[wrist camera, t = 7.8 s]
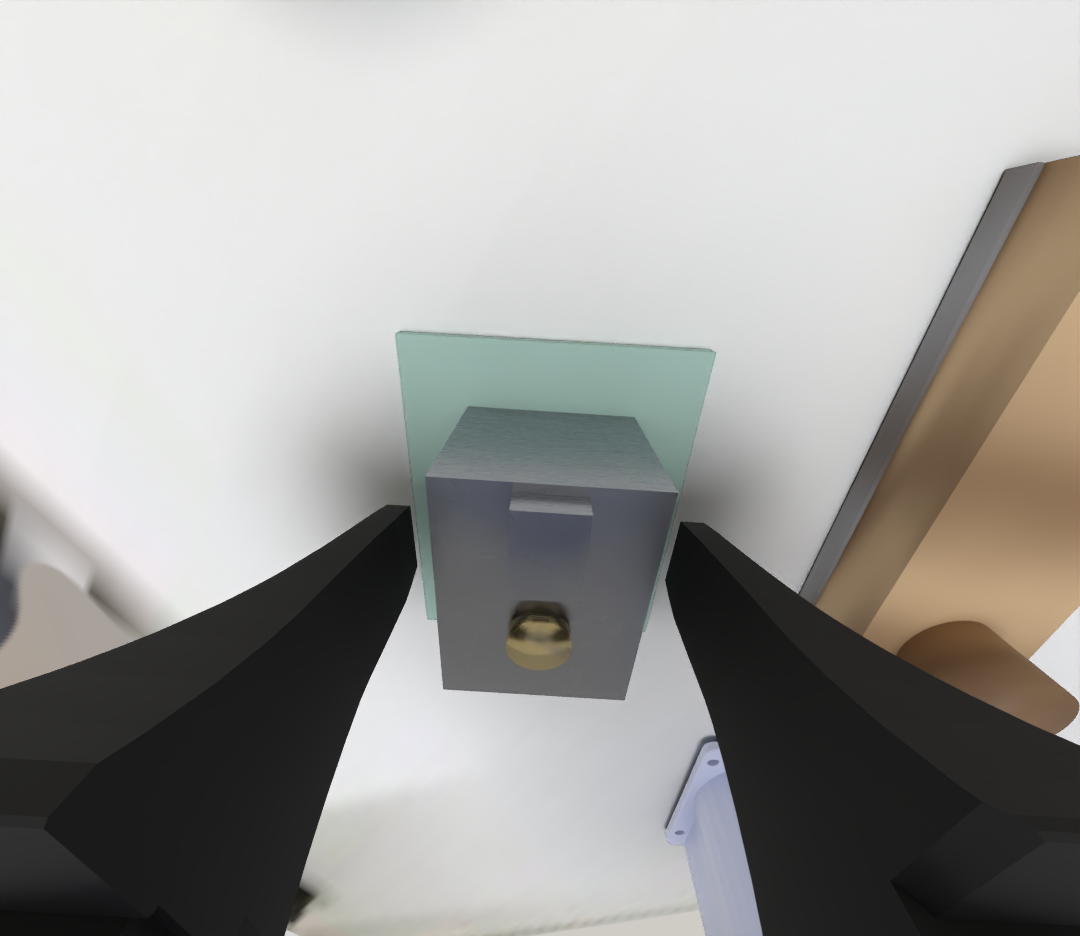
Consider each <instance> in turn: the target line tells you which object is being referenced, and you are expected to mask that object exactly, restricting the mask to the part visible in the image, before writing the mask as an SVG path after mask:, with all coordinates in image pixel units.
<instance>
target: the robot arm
mask: <svg viewBox="0 0 1080 936" xmlns="http://www.w3.org/2000/svg"><path fill="white" fill-rule="evenodd" d="M416 569H417V559H416V551H415V542H414V534H413V526H412V517H411V509H410V506H401V505H386V506H384V507H383V508H381V509H379V510H378V511H376V512H375V513H373V514H372V515H370V516H368V517H367V518H365V519H364V520H363V521H361V522H360V523H358V524H357V525H355V526H354V527H352V528H351V529H349V530H348V531H346V532H345V533H343V534H341V535H340V536H338V537H337V538H335V539H334V540H332V541H331V542H329V543H328V544H326V545H325V546H323V547H322V548H320V549H318V550H317V551H315V552H313V553H312V554H310V555H308V556H307V557H305V558H303V559H302V560H300V561H298V562H297V563H295V564H293V565H292V566H290V567H289V568H287V569H285V570H284V571H282V572H280V573H278V574H277V575H275V576H273V577H271V578H269V579H268V580H266V581H264V582H262V583H260V584H258V585H256V586H254V587H252V588H250V589H249V590H247V591H245V592H243V593H241V594H239V595H237V596H235V597H233V598H231V599H229V600H227V601H225V602H223V603H221V604H218V605H216V606H214V607H212V608H209V609H207V610H205V611H203V612H201V613H198V614H196V615H194V616H192V617H189V618H187V619H185V620H183V621H180V622H178V623H176V624H174V625H171V626H169V627H167V628H165V629H162V630H160V631H158V632H155V633H153V634H150V635H148V636H145V637H143V638H140V639H138V640H135V641H133V642H130V643H128V644H126V645H123V646H120V647H118V648H115V649H112V650H110V651H108V652H105V653H102V654H99V655H97V656H94V657H91V658H89V659H86V660H83V661H81V662H78V663H75V664H73V665H69V666H67V667H64V668H61V669H58V670H56V671H53V672H50V673H47V674H44V675H41V676H38V677H35V678H32V679H29V680H26V681H23V682H20V683H17V684H14V685H11V686H8V687H5V688H2V689H0V936H284V935H285V932H286V928H287V925H288V921H289V918H290V915H291V911H292V908H293V904H294V901H295V898H296V894H297V891H298V887H299V884H300V881H301V877H302V874H303V871H304V867H305V864H306V860H307V857H308V854H309V851H310V848H311V844H312V841H313V838H314V835H315V832H316V829H317V826H318V822H319V819H320V816H321V813H322V810H323V807H324V803H325V800H326V797H327V794H328V791H329V788H330V785H331V782H332V779H333V776H334V774H335V771H336V768H337V765H338V762H339V759H340V756H341V753H342V750H343V747H344V744H345V741H346V739H347V736H348V733H349V730H350V728H351V725H352V722H353V719H354V717H355V714H356V711H357V708H358V705H359V703H360V700H361V698H362V695H363V693H364V691H365V688H366V686H367V684H368V681H369V679H370V677H371V675H372V673H373V671H374V668H375V666H376V664H377V662H378V660H379V658H380V656H381V654H382V652H383V649H384V647H385V645H386V643H387V641H388V639H389V637H390V635H391V632H392V630H393V628H394V626H395V624H396V622H397V620H398V617H399V615H400V613H401V611H402V609H403V607H404V604H405V602H406V600H407V597H408V594H409V591H410V588H411V585H412V582H413V578H414V575H415V572H416ZM665 582H666V587H667V591H668V596H669V600H670V604H671V608H672V612H673V616H674V619H675V622H676V625H677V627H678V630H679V633H680V635H681V638H682V641H683V644H684V646H685V649H686V651H687V654H688V657H689V659H690V662H691V665H692V667H693V670H694V673H695V675H696V678H697V680H698V683H699V686H700V688H701V691H702V694H703V696H704V699H705V702H706V705H707V708H708V711H709V714H710V717H711V720H712V723H713V727H714V731H715V734H716V738H717V742H716V741H714V742H708V743H706V744H705V745H704V746H703V747H702V749H701V752H700V754H699V756H698V758H697V761H696V763H695V765H694V768H693V770H692V772H691V774H690V777H689V779H688V781H687V783H686V786H685V788H684V790H683V793H682V795H681V797H680V799H679V802H678V804H677V806H676V809H675V811H674V813H673V815H672V818H671V820H670V822H669V825H668V827H667V829H666V831H665V836H666V841H667V842H668V843H669V844H673V845H685V850H686V854H687V858H688V862H689V867H690V871H691V875H692V880H693V884H694V888H695V892H696V897H697V901H698V905H699V910H700V914H701V918H702V922H703V927H704V931H705V935H706V936H1080V746H1079V745H1077V744H1075V743H1073V742H1070V741H1068V740H1066V739H1063V738H1061V737H1059V736H1057V735H1054V734H1052V733H1050V732H1047V731H1045V730H1043V729H1041V728H1038V727H1036V726H1034V725H1032V724H1030V723H1027V722H1025V721H1023V720H1021V719H1019V718H1017V717H1015V716H1013V715H1011V714H1009V713H1007V712H1004V711H1002V710H1000V709H998V708H996V707H994V706H992V705H990V704H988V703H986V702H984V701H982V700H980V699H978V698H975V697H973V696H971V695H969V694H967V693H965V692H963V691H961V690H959V689H957V688H956V687H954V686H952V685H950V684H948V683H946V682H944V681H942V680H940V679H938V678H936V677H934V676H932V675H930V674H929V673H927V672H925V671H923V670H921V669H919V668H918V667H916V666H914V665H912V664H910V663H908V662H907V661H905V660H903V659H901V658H899V657H897V656H896V655H894V654H892V653H890V652H888V651H887V650H885V649H883V648H881V647H880V646H878V645H876V644H875V643H873V642H871V641H869V640H868V639H866V638H864V637H863V636H861V635H860V634H858V633H856V632H855V631H853V630H852V629H850V628H848V627H847V626H845V625H843V624H842V623H840V622H839V621H837V620H835V619H834V618H832V617H831V616H829V615H828V614H826V613H825V612H823V611H822V610H820V609H819V608H817V607H816V606H814V605H813V604H811V603H810V602H808V601H807V600H806V599H804V598H803V597H801V596H800V595H798V594H797V593H796V592H794V591H793V590H791V589H790V588H788V587H787V586H786V585H784V584H783V583H782V582H780V581H779V580H778V579H776V578H775V577H774V576H772V575H771V574H770V573H768V572H767V571H766V570H764V569H763V568H762V567H760V566H759V565H758V564H757V563H755V562H754V561H753V560H751V559H750V558H749V557H748V556H746V555H745V554H744V553H743V552H741V551H740V550H739V549H737V548H736V547H735V546H734V545H732V544H731V543H730V542H729V541H727V540H726V539H725V538H723V537H722V536H721V535H720V534H718V533H717V532H716V531H714V530H713V529H712V528H710V527H709V526H707V525H706V524H704V523H694V522H680V526H679V530H678V534H677V538H676V541H675V545H674V549H673V553H672V556H671V560H670V564H669V568H668V571H667V575H666V579H665Z"/></svg>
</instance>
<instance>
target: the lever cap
mask: <svg viewBox="0 0 1080 936" xmlns="http://www.w3.org/2000/svg"><path fill="white" fill-rule="evenodd" d="M425 482H426V494H427V505H428V517H429V529H430V540H431V552H432V563H433V575H434V587H435V598H436V610H437V622H438V633H439V645H440V656H441V668H442V680H443V689H448V690H464V691H481V692H497V693H513V694H530V695H546V696H562V697H579V698H595V699H611V700H625V696H626V692H627V688H628V684H629V680H630V677H631V673H632V669H633V665H634V661H635V657H636V654H637V650H638V646H639V642H640V638H641V634H642V631H643V627H644V623H645V619H646V615H647V611H648V608H649V604H650V600H651V596H652V592H653V588H654V585H655V581H656V577H657V573H658V569H659V565H660V561H661V558H662V554H663V550H664V546H665V542H666V538H667V535H668V531H669V527H670V523H671V519H672V515H673V512H674V508H675V504H676V500H677V496H678V491H677V490H676V488H675V486H674V484H673V483H672V481H671V479H670V477H669V476H668V474H667V472H666V471H665V469H664V467H663V465H662V464H661V462H660V460H659V458H658V457H657V455H656V453H655V452H654V450H653V448H652V446H651V445H650V443H649V441H648V439H647V438H646V436H645V434H644V433H643V431H642V429H641V427H640V426H639V424H638V422H637V420H636V419H635V417H627V416H611V415H596V414H581V413H566V412H550V411H535V410H520V409H505V408H489V407H474V406H468V407H467V409H466V410H465V412H464V414H463V415H462V417H461V418H460V420H459V422H458V423H457V425H456V427H455V428H454V430H453V432H452V433H451V435H450V436H449V438H448V440H447V441H446V443H445V445H444V446H443V448H442V450H441V451H440V453H439V454H438V456H437V458H436V459H435V461H434V463H433V464H432V466H431V467H430V469H429V471H428V472H427V474H426V476H425Z"/></svg>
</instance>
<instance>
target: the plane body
mask: <svg viewBox="0 0 1080 936" xmlns="http://www.w3.org/2000/svg"><path fill="white" fill-rule="evenodd" d="M799 595H800V596H801V597H803V598H804V599H806V600H807V601H808V602H810V603H811V604H813V605H814V606H816V607H817V608H819V609H820V610H822V611H823V612H825V613H826V614H828V615H829V616H831V617H832V618H834V619H835V620H837V621H839V622H840V623H842V624H843V625H845V626H847V627H848V628H850V629H852V630H853V631H855V632H856V633H858V634H860V635H861V636H863V637H864V638H866V639H868V640H869V641H871V642H873V643H875V644H876V645H878V646H880V647H881V648H883V649H885V650H887V651H888V652H890V653H892V654H894V655H896V656H897V657H899V658H901V659H903V660H905V661H907V662H908V663H910V664H912V665H914V666H916V667H918V668H919V669H921V670H923V671H925V672H927V673H929V674H930V675H932V676H934V677H936V678H938V679H940V680H942V681H944V682H946V683H948V684H950V685H952V686H954V687H956V688H957V689H959V690H961V691H963V692H965V693H967V694H969V695H971V696H973V697H975V698H978V699H980V700H982V701H984V702H986V703H988V704H990V705H992V706H994V707H996V708H998V709H1000V710H1002V711H1004V712H1007V713H1009V714H1011V715H1013V716H1015V717H1017V718H1019V719H1021V720H1023V721H1025V722H1027V723H1030V724H1032V725H1034V726H1036V727H1038V728H1041V729H1043V730H1045V731H1047V732H1050V733H1052V734H1054V735H1055V734H1057V733H1058V732H1060V731H1061V730H1063V729H1064V728H1065V727H1067V726H1068V725H1069V724H1070V723H1071V722H1072V721H1073V720H1074V719H1075V717H1076V716H1077V714H1078V711H1079V703H1078V701H1077V699H1076V698H1075V697H1074V696H1072V695H1071V694H1070V693H1069V692H1067V691H1066V690H1065V689H1064V688H1063V687H1061V686H1060V685H1059V684H1058V683H1056V682H1055V681H1054V680H1053V679H1051V678H1050V677H1049V676H1048V675H1047V674H1045V673H1044V672H1043V671H1042V670H1040V669H1039V668H1038V667H1037V666H1035V665H1034V664H1033V663H1032V662H1031V661H1029V660H1028V659H1029V658H1030V657H1031V656H1032V655H1033V654H1034V653H1035V652H1036V651H1037V650H1038V649H1039V648H1040V647H1041V646H1042V645H1043V644H1044V643H1045V641H1046V640H1047V639H1048V638H1049V637H1050V636H1051V635H1052V634H1053V633H1054V632H1055V631H1056V630H1057V629H1058V628H1059V627H1060V626H1061V625H1062V624H1063V623H1064V621H1065V620H1066V619H1067V618H1068V617H1069V616H1070V615H1071V614H1072V613H1073V612H1074V611H1075V610H1076V609H1077V608H1078V607H1079V606H1080V155H1079V156H1074V157H1070V158H1065V159H1061V160H1056V161H1052V162H1047V163H1042V162H1037V163H1033V164H1028V165H1024V166H1019V167H1015V168H1011V169H1006V171H1005V173H1004V175H1003V177H1002V179H1001V181H1000V183H999V185H998V188H997V190H996V192H995V194H994V196H993V198H992V200H991V202H990V204H989V206H988V208H987V210H986V212H985V214H984V216H983V218H982V220H981V222H980V225H979V227H978V229H977V231H976V233H975V235H974V237H973V239H972V241H971V243H970V245H969V247H968V249H967V251H966V253H965V255H964V257H963V259H962V262H961V264H960V266H959V268H958V270H957V272H956V274H955V276H954V278H953V280H952V282H951V284H950V286H949V288H948V290H947V292H946V294H945V296H944V299H943V301H942V303H941V305H940V307H939V309H938V311H937V313H936V315H935V317H934V319H933V321H932V323H931V325H930V327H929V329H928V331H927V333H926V335H925V338H924V340H923V342H922V344H921V346H920V348H919V350H918V352H917V354H916V356H915V358H914V360H913V362H912V364H911V366H910V368H909V370H908V372H907V375H906V377H905V379H904V381H903V383H902V385H901V387H900V389H899V391H898V393H897V395H896V397H895V399H894V401H893V403H892V405H891V407H890V409H889V412H888V414H887V416H886V418H885V420H884V422H883V424H882V426H881V428H880V430H879V432H878V434H877V436H876V438H875V440H874V442H873V444H872V446H871V449H870V451H869V453H868V455H867V457H866V459H865V461H864V463H863V465H862V467H861V469H860V471H859V473H858V475H857V477H856V479H855V481H854V483H853V486H852V488H851V490H850V492H849V494H848V496H847V498H846V500H845V502H844V504H843V506H842V508H841V510H840V512H839V514H838V516H837V518H836V520H835V523H834V525H833V527H832V529H831V531H830V533H829V535H828V537H827V539H826V541H825V543H824V545H823V547H822V549H821V551H820V553H819V555H818V557H817V560H816V562H815V564H814V566H813V568H812V570H811V572H810V574H809V576H808V578H807V580H806V582H805V584H804V586H803V588H802V590H801V592H800V594H799Z"/></svg>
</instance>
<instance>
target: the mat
mask: <svg viewBox="0 0 1080 936" xmlns="http://www.w3.org/2000/svg"><path fill="white" fill-rule="evenodd" d="M395 337H396V346H397V355H398V363H399V372H400V381H401V390H402V399H403V408H404V417H405V426H406V434H407V443H408V452H409V461H410V470H411V479H412V488H413V497H414V505H415V514H416V523H417V532H418V541H419V550H420V559H421V568H422V576H423V585H424V594H425V603H426V612H427V619H430V620H437V610H436V598H435V587H434V575H433V563H432V552H431V540H430V529H429V517H428V505H427V494H426V482H425V476H426V474H427V472H428V471H429V469H430V467H431V466H432V464H433V463H434V461H435V459H436V458H437V456H438V454H439V453H440V451H441V450H442V448H443V446H444V445H445V443H446V441H447V440H448V438H449V436H450V435H451V433H452V432H453V430H454V428H455V427H456V425H457V423H458V422H459V420H460V418H461V417H462V415H463V414H464V412H465V410H466V409H467V407H468V406H474V407H489V408H505V409H520V410H535V411H550V412H566V413H581V414H596V415H611V416H627V417H635V419H636V420H637V422H638V424H639V426H640V427H641V429H642V431H643V433H644V434H645V436H646V438H647V439H648V441H649V443H650V445H651V446H652V448H653V450H654V452H655V453H656V455H657V457H658V458H659V460H660V462H661V464H662V465H663V467H664V469H665V471H666V472H667V474H668V476H669V477H670V479H671V481H672V483H673V484H674V486H675V488H676V490H677V491H678V496H677V500H676V504H675V508H674V512H673V515H672V519H671V523H670V527H669V531H668V535H667V538H666V542H665V546H664V550H663V554H662V558H661V561H660V565H659V569H658V573H657V577H656V581H655V585H654V588H653V592H652V596H651V600H650V604H649V608H648V611H647V615H646V619H645V623H644V627H643V631H642V632H645V630H646V626H647V622H648V618H649V614H650V611H651V607H652V603H653V599H654V595H655V591H656V587H657V583H658V579H659V575H660V571H661V567H662V563H663V560H664V556H665V552H666V548H667V544H668V540H669V536H670V532H671V528H672V524H673V520H674V516H675V512H676V509H677V505H678V501H679V497H680V493H681V489H682V485H683V481H684V477H685V473H686V469H687V465H688V461H689V458H690V454H691V450H692V446H693V442H694V438H695V434H696V430H697V426H698V422H699V418H700V414H701V411H702V407H703V403H704V399H705V395H706V391H707V387H708V383H709V379H710V375H711V371H712V367H713V363H714V360H715V356H716V352H714V351H712V350H709V349H692V348H675V347H659V346H642V345H625V344H608V343H591V342H574V341H557V340H540V339H524V338H507V337H490V336H473V335H456V334H439V333H422V332H406V331H400V332H397V333H395Z"/></svg>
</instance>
